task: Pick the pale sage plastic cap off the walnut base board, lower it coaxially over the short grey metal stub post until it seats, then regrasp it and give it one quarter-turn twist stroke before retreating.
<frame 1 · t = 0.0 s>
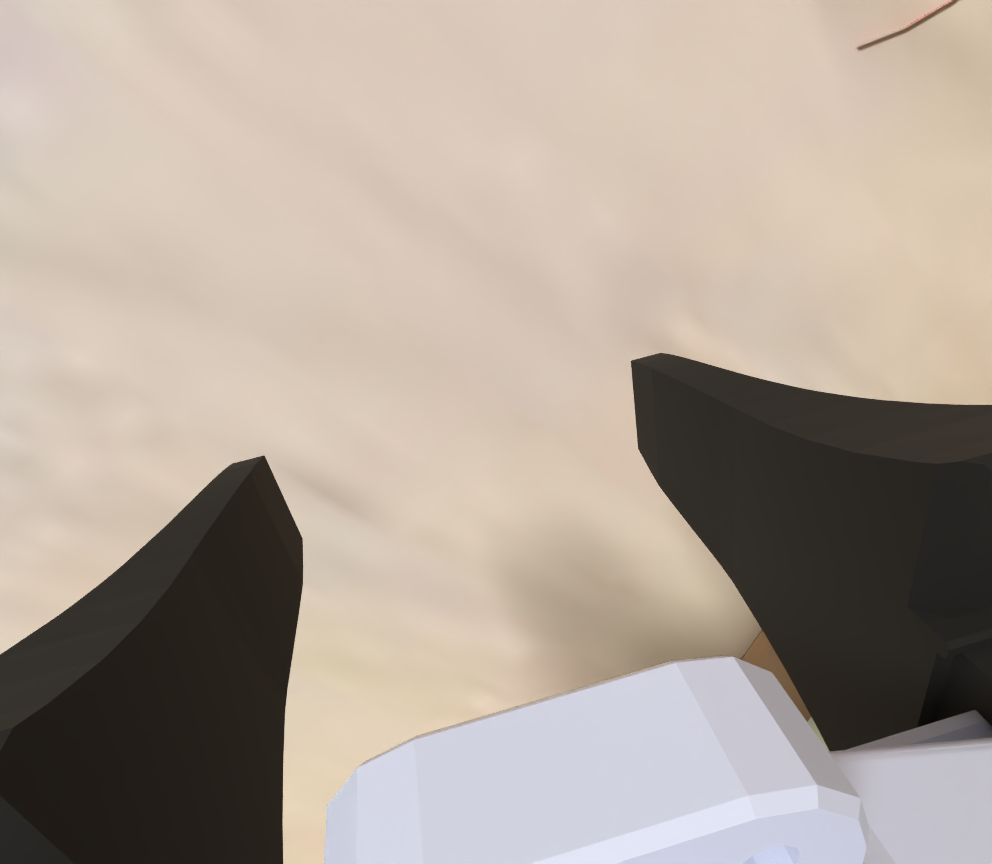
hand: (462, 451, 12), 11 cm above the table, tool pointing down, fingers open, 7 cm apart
post base: (853, 643, 29), on the table
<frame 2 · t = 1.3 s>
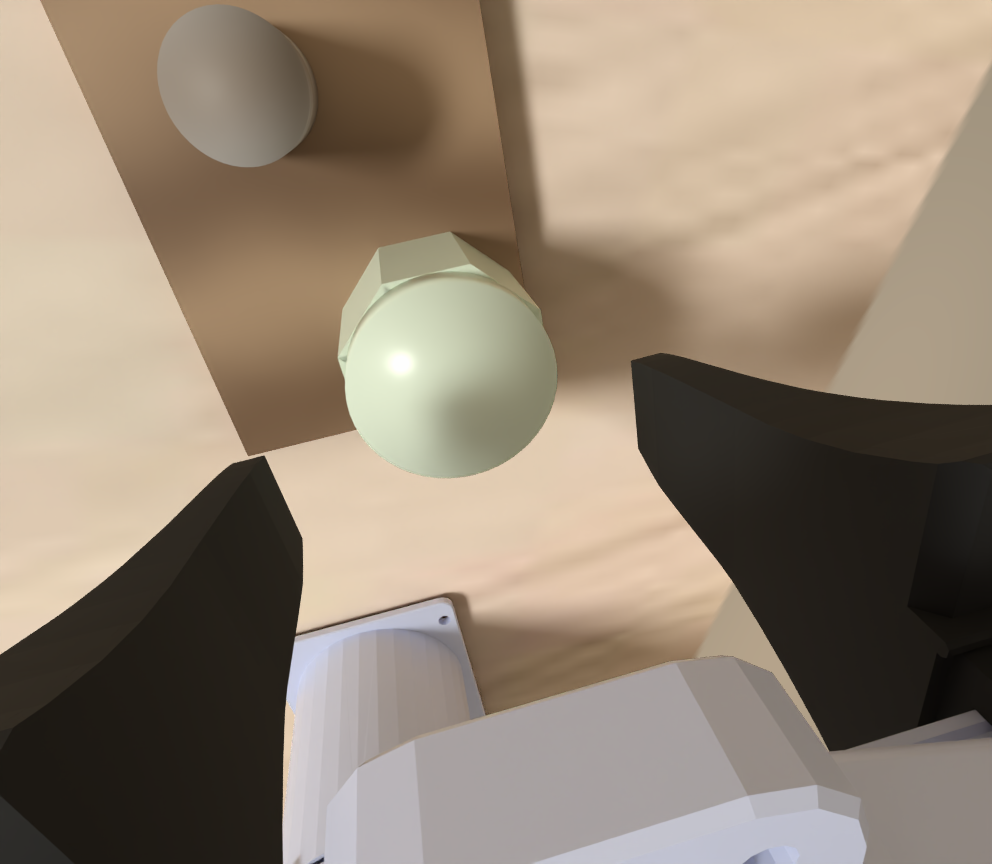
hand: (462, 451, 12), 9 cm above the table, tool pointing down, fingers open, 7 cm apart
post base: (333, 199, 18), on the table
cap: (434, 322, 19), point 1 cm above the table, touching post base
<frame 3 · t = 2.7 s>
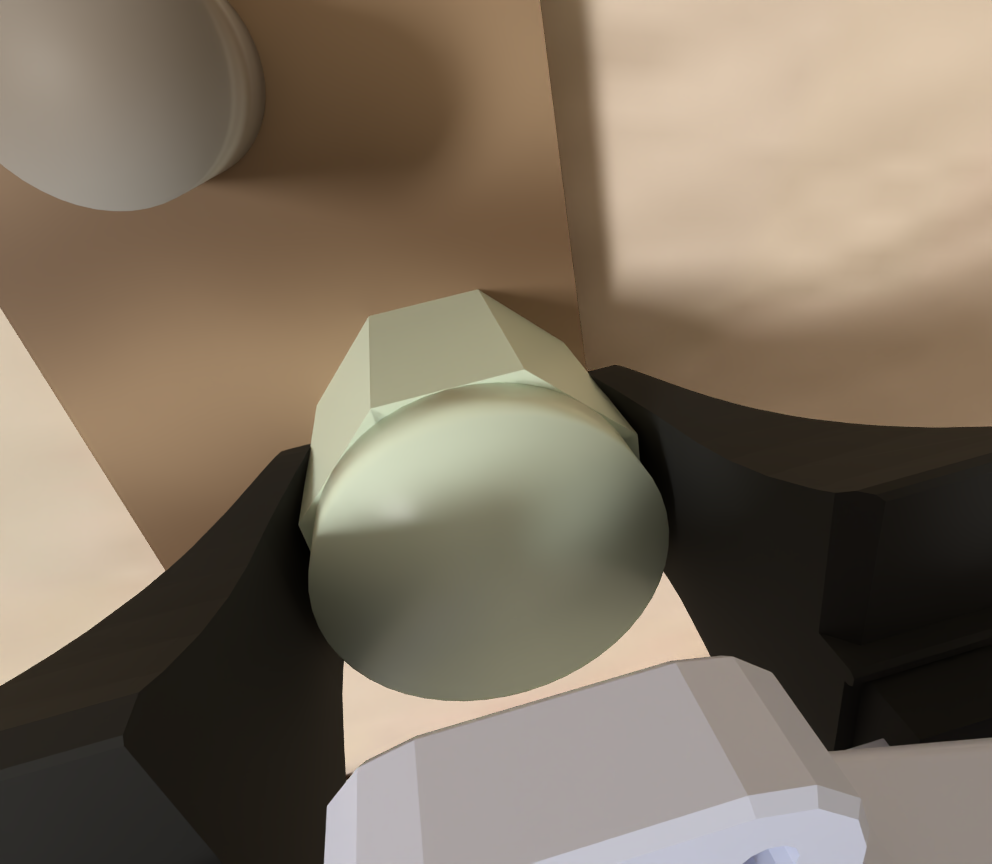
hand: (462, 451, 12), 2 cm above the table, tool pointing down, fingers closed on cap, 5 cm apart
post base: (300, 243, 12), on the table
cap: (453, 418, 13), point 1 cm above the table, touching gripper, post base
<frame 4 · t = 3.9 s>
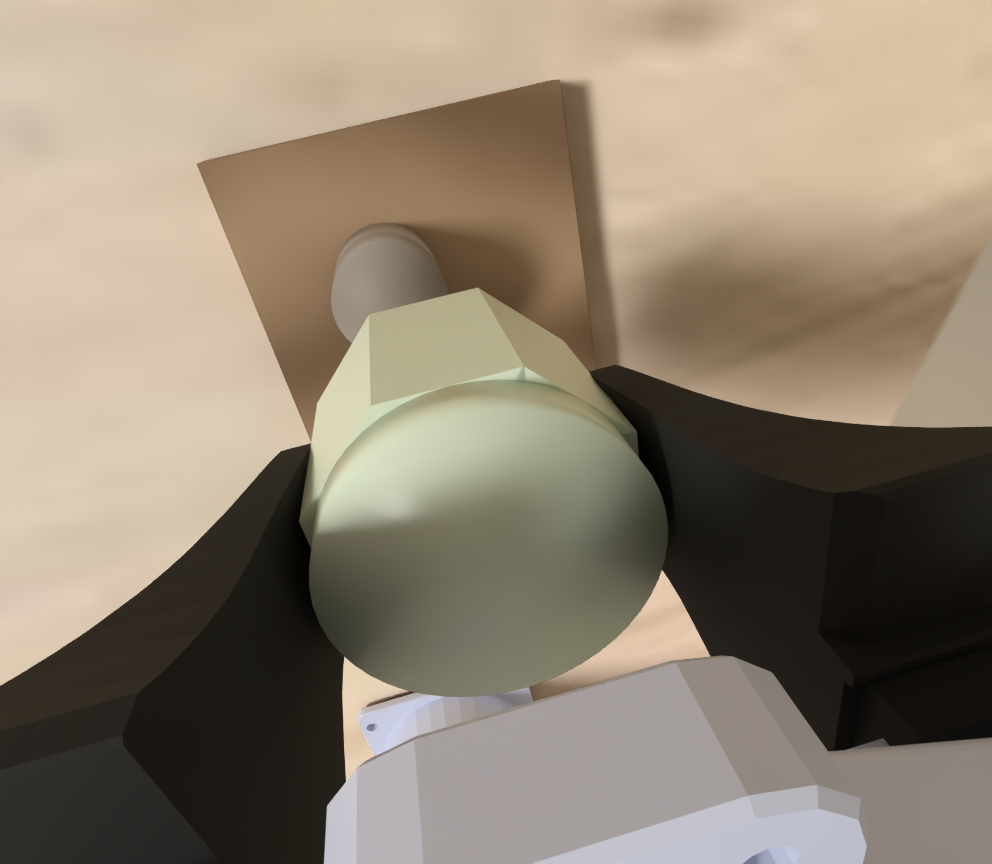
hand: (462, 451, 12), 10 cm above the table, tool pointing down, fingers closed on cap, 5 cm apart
post base: (440, 345, 21), on the table
cap: (453, 416, 13), point 8 cm above the table, touching gripper
when the fingers open (4 cm above the table, at t = 5.6 s): cap drops 1 cm, resting on post base.
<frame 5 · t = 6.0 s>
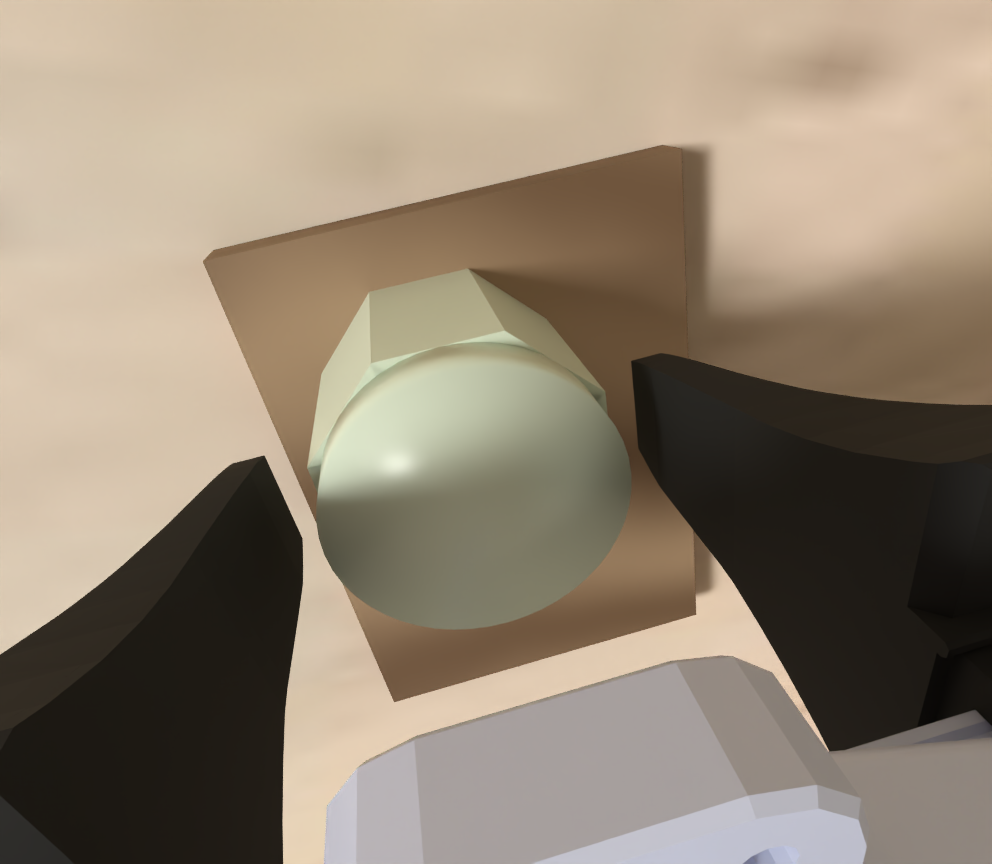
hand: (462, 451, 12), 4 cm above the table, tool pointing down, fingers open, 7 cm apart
post base: (501, 460, 17), on the table
cap: (445, 387, 14), point 1 cm above the table, touching post base
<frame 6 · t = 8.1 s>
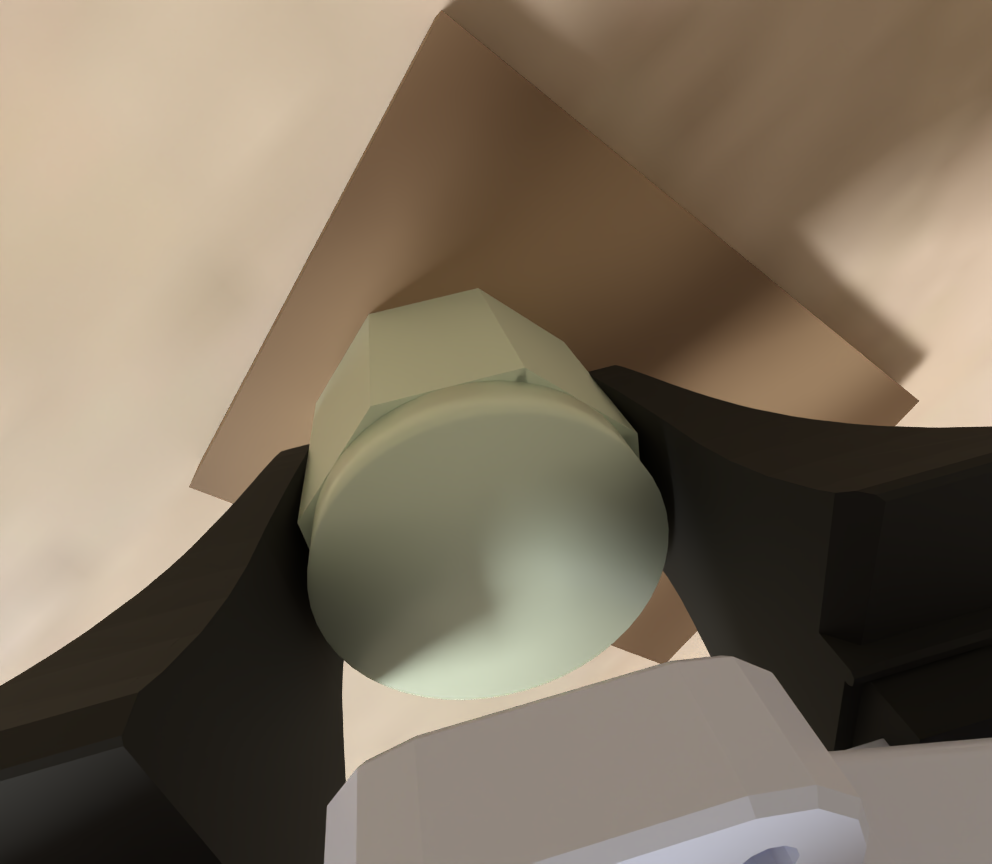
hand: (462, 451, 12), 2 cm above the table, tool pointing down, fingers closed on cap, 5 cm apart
post base: (574, 419, 15), on the table
cap: (453, 417, 13), point 1 cm above the table, touching gripper, post base
when the fingers open (3 cm above the table, at t = 9.4 s): cap stays where it is, resting on post base.
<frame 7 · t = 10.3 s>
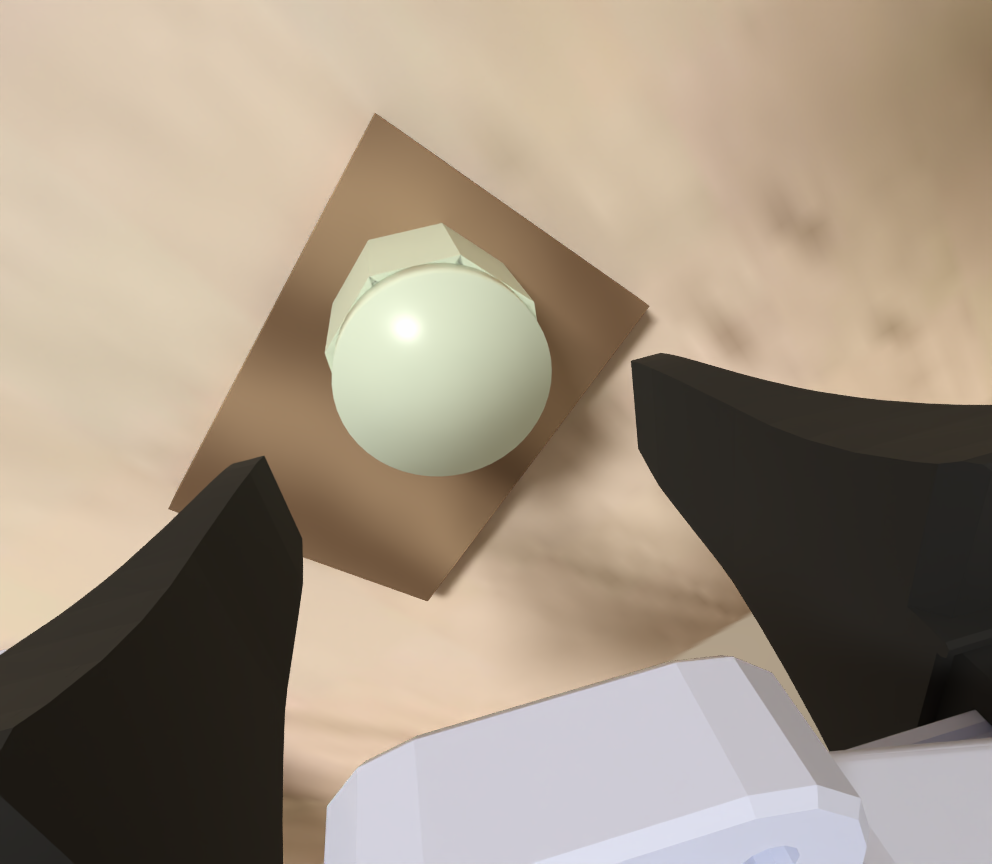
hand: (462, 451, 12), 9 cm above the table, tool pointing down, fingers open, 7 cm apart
post base: (405, 395, 21), on the table
cap: (427, 316, 19), point 1 cm above the table, touching post base
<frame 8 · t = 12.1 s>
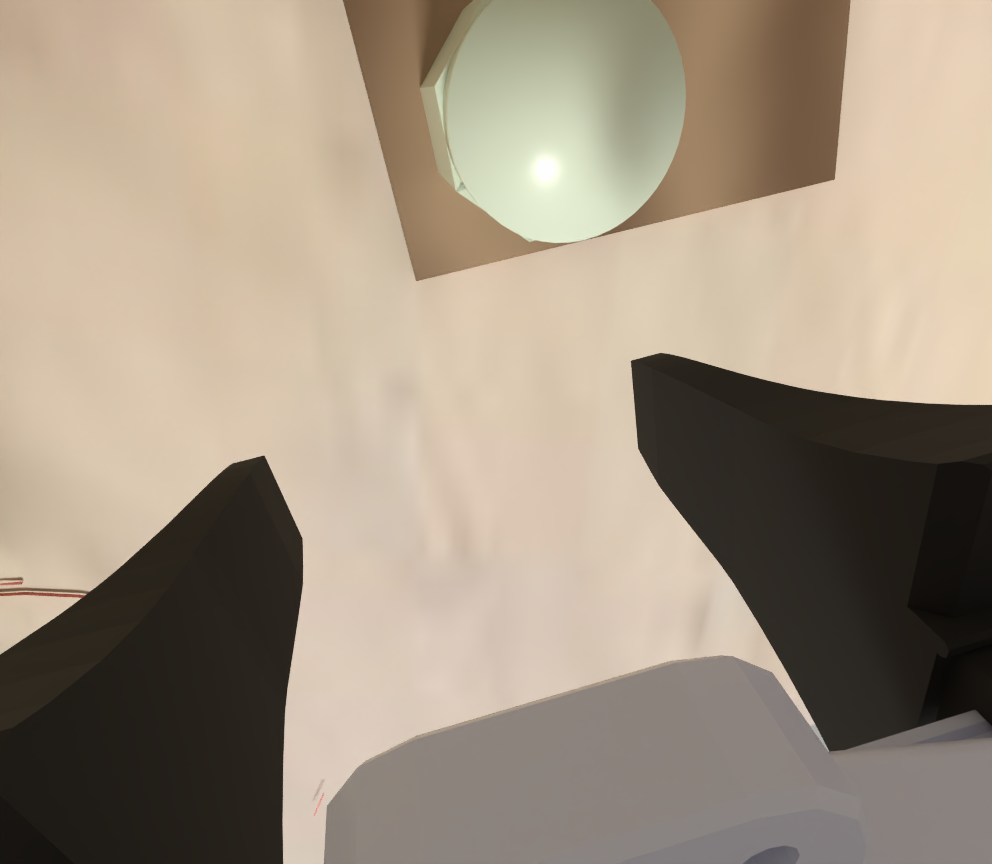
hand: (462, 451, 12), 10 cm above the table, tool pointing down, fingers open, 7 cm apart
post base: (604, 49, 18), on the table
cap: (518, 111, 17), point 1 cm above the table, touching post base
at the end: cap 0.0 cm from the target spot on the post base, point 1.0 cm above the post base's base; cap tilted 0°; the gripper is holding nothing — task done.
